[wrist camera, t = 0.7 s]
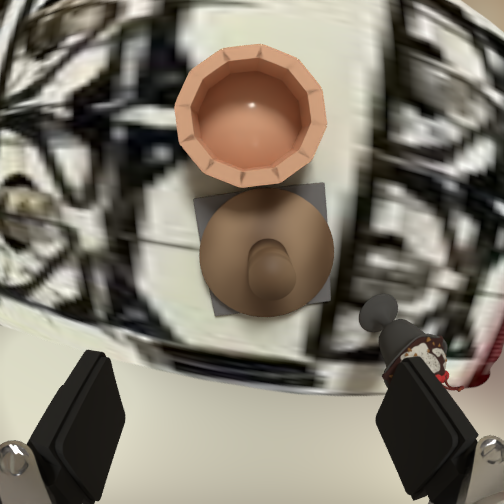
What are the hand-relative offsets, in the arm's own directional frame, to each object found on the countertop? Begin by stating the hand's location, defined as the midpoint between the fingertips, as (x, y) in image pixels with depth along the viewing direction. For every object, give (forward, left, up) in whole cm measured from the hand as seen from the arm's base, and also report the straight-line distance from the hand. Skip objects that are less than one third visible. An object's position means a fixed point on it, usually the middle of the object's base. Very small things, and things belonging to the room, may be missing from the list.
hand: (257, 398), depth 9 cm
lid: (-1, +2, -21) cm, 21 cm away
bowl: (-1, -10, -21) cm, 24 cm away
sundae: (-13, +11, -21) cm, 28 cm away
